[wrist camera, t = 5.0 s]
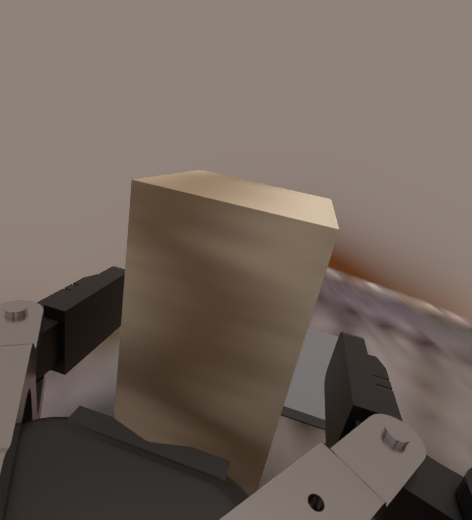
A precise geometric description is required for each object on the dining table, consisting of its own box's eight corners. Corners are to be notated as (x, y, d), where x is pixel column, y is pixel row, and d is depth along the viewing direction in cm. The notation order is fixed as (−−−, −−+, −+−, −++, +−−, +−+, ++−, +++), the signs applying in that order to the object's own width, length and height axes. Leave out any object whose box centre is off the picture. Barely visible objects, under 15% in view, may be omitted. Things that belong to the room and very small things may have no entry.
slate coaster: (345, 346, 25) (347, 339, 25) (358, 440, 17) (362, 432, 17) (235, 313, 27) (236, 307, 26) (197, 386, 18) (199, 377, 18)
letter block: (260, 436, 16) (330, 198, 12) (235, 557, 11) (339, 229, 7) (167, 403, 17) (202, 169, 13) (107, 503, 12) (131, 179, 8)
